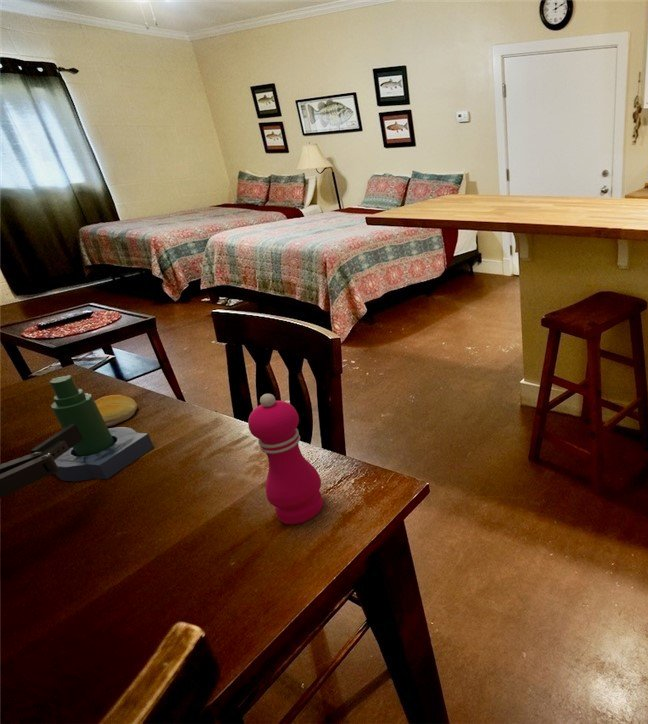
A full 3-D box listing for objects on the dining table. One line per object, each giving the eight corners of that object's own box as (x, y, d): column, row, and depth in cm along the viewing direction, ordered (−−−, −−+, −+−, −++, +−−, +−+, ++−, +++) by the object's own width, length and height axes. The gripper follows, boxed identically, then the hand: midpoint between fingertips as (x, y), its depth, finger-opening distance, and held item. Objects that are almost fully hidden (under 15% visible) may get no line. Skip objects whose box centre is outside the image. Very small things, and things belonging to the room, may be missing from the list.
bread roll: (76, 434, 89) (67, 416, 88) (95, 411, 97) (87, 394, 95) (129, 425, 92) (121, 407, 90) (144, 403, 100) (137, 386, 98)
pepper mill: (310, 487, 76) (278, 376, 67) (336, 505, 72) (306, 391, 63) (264, 513, 70) (224, 398, 62) (290, 535, 67) (251, 415, 58)
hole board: (36, 478, 78) (27, 463, 77) (103, 438, 88) (96, 424, 87) (99, 484, 77) (91, 469, 75) (160, 443, 87) (154, 429, 85)
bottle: (80, 472, 79) (35, 389, 72) (85, 457, 83) (42, 377, 76) (118, 462, 82) (78, 380, 75) (121, 447, 85) (83, 369, 78)
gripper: (-245, 571, 53) (-42, 455, 72) (-16, 563, 54) (125, 451, 73) (-297, 521, 50) (-70, 413, 69) (-52, 514, 51) (105, 409, 70)
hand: (31, 432), depth 71 cm, fingers open, 13 cm apart
